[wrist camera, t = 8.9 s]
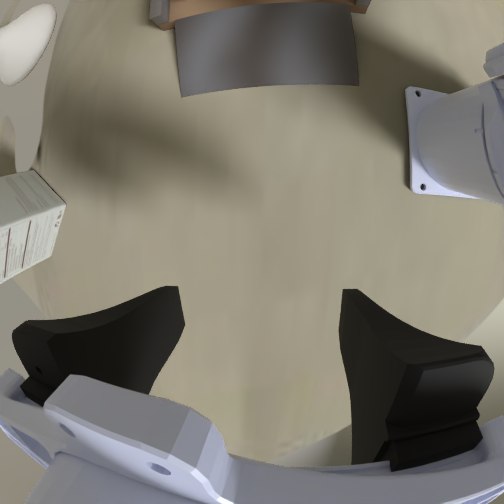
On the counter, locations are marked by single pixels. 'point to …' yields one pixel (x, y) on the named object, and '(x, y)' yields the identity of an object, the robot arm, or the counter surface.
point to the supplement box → (27, 222)
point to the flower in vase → (25, 42)
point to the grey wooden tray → (260, 42)
